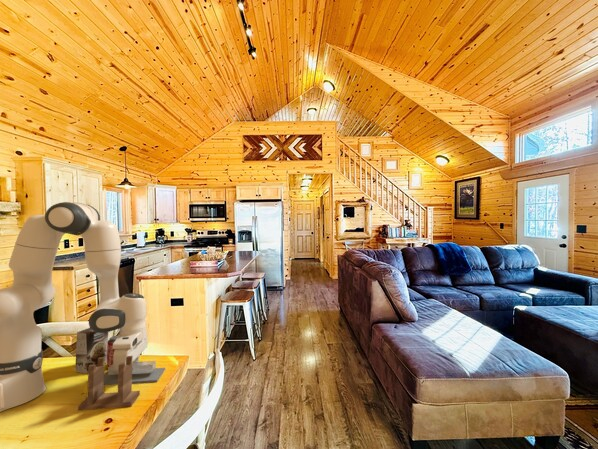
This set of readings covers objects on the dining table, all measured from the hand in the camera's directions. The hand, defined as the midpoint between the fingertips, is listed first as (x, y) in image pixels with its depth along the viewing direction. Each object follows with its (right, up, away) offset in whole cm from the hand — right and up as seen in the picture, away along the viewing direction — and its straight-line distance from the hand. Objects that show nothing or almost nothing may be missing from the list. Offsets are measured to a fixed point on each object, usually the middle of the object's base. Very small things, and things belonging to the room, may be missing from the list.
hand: (132, 370), depth 103 cm
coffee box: (-21, -3, +7) cm, 23 cm away
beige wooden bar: (0, -1, 0) cm, 1 cm away
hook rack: (+2, -3, -15) cm, 15 cm away
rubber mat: (0, -3, 0) cm, 3 cm away
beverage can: (-13, -3, +8) cm, 15 cm away
